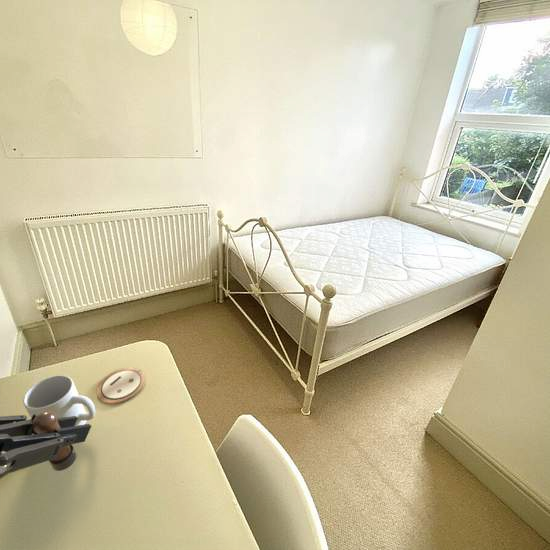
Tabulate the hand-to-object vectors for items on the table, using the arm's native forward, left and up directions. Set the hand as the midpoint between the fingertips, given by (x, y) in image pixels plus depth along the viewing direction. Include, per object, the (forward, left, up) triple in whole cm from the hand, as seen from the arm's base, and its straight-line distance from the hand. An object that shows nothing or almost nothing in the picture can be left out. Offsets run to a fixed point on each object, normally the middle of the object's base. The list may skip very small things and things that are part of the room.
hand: (79, 428), depth 55 cm
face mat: (-11, +16, -11) cm, 22 cm away
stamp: (0, -4, -4) cm, 5 cm away
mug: (-11, +4, -11) cm, 16 cm away
